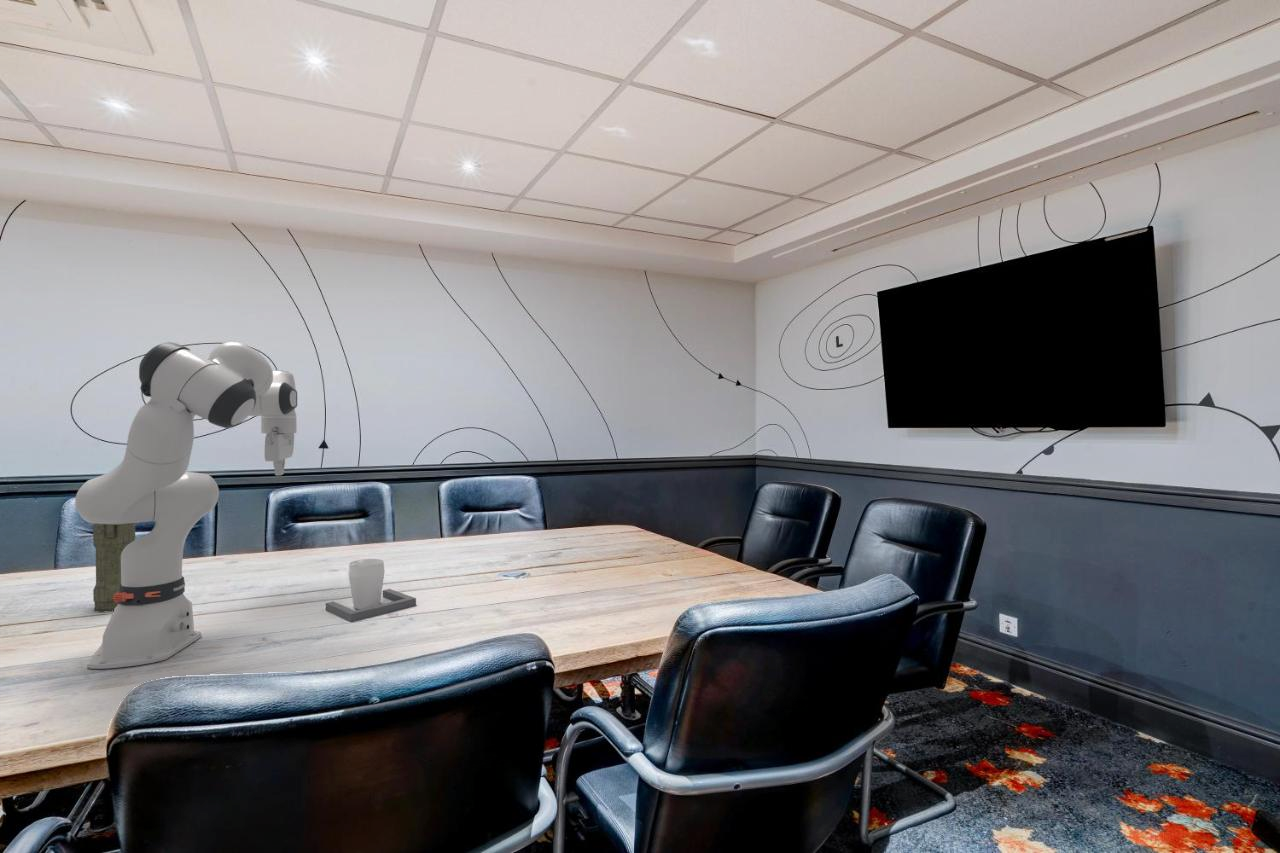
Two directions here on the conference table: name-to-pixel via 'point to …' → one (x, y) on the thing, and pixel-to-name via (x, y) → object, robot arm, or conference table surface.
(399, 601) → the bay
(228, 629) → the conference table surface
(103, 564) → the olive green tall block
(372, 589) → the cup
